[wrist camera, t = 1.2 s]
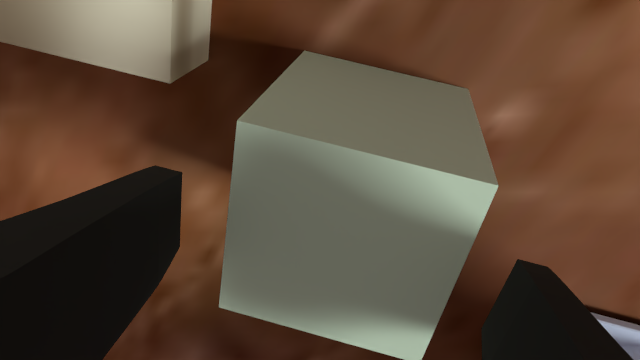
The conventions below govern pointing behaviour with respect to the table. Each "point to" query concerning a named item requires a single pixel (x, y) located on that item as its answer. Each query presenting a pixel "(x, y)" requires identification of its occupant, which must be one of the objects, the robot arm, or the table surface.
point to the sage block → (354, 203)
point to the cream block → (114, 33)
